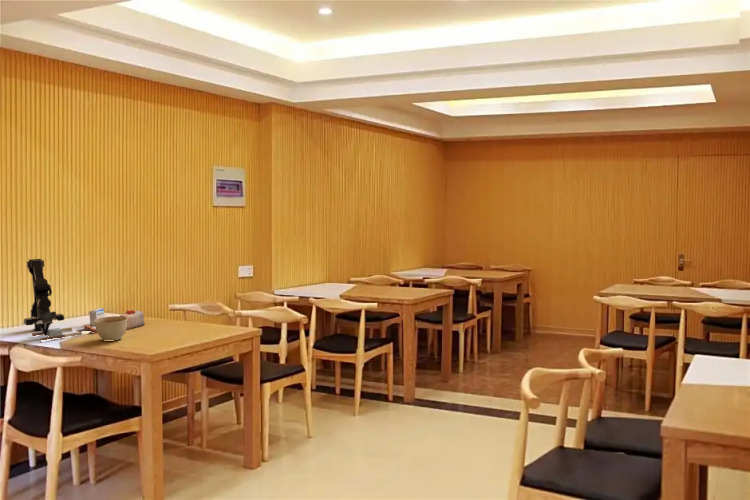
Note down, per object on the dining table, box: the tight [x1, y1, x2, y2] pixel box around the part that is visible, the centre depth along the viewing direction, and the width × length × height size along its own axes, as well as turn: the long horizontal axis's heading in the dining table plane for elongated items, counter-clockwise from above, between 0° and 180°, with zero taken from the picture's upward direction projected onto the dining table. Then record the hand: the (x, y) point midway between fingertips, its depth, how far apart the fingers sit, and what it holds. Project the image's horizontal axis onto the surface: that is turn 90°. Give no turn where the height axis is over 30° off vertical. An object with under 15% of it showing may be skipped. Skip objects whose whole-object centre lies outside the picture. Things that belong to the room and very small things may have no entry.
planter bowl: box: [94, 315, 128, 341], centre depth 362 cm, size 16×16×11 cm
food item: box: [119, 309, 145, 331], centre depth 390 cm, size 14×8×10 cm, turn 149°
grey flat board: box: [31, 324, 98, 341], centre depth 376 cm, size 17×28×2 cm, turn 130°
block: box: [46, 327, 63, 337], centre depth 372 cm, size 6×6×4 cm
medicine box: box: [88, 307, 105, 327], centre depth 400 cm, size 8×4×9 cm, turn 168°
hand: (45, 335), depth 370 cm, fingers closed
